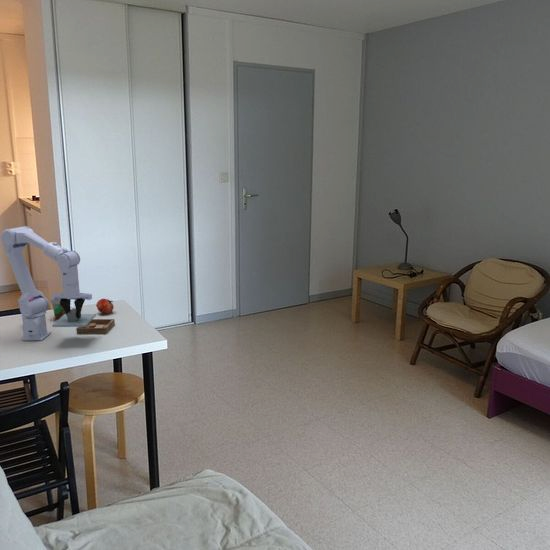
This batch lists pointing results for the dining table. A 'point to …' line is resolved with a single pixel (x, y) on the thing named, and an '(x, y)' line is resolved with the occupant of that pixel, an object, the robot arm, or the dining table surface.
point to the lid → (74, 320)
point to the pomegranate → (105, 306)
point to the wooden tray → (97, 327)
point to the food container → (57, 309)
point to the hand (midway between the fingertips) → (74, 317)
